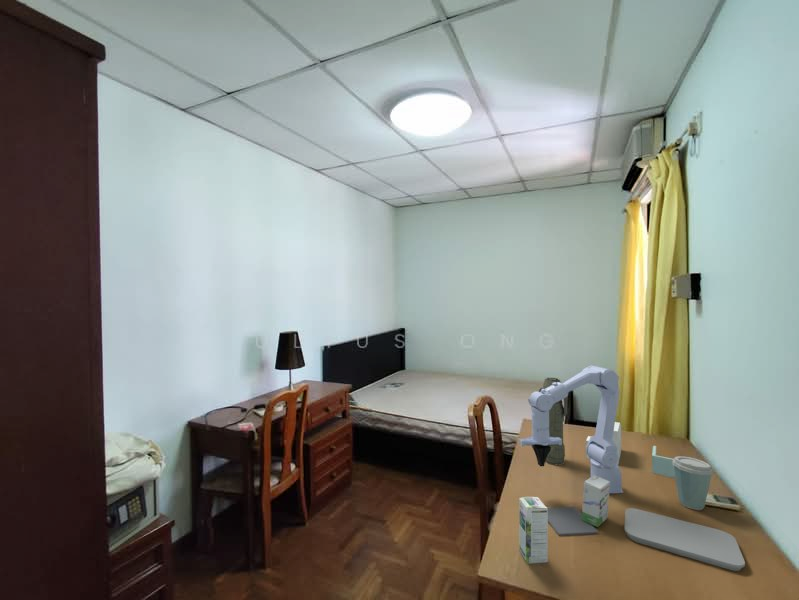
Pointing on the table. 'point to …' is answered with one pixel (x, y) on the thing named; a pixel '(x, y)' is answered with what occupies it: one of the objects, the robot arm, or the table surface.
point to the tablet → (684, 538)
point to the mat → (569, 522)
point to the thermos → (556, 426)
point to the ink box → (595, 500)
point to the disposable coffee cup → (692, 481)
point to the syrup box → (533, 530)
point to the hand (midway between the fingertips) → (541, 465)
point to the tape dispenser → (615, 439)
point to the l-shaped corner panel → (662, 465)
